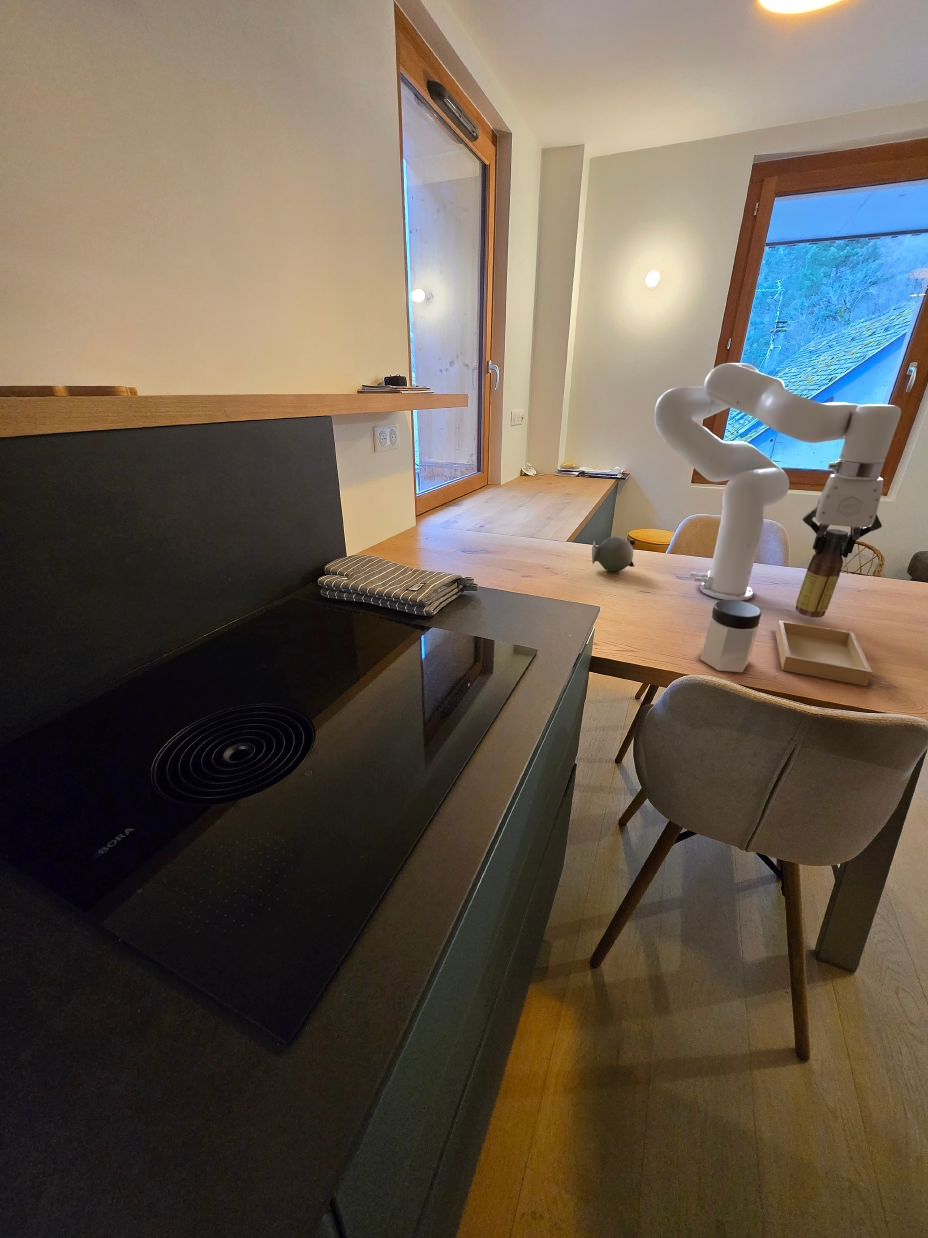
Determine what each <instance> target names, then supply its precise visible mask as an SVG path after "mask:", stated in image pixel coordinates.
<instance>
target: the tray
mask: <svg viewBox="0 0 928 1238" xmlns="http://www.w3.org/2000/svg"><path fill="white" fill-rule="evenodd" d="M775 638H776V643H777V650H778V655H779V656H778V657H779V662H780V667H781V671H785V672H791V673H795V674H800V675H806V676H811V677H817V678H822V679H827V680H831V681H838V682H842V683H847V684H853V685H857V686H862V687H863V686H864V687H868V684H869V682H870V680H871V677H872V675H873V670H872V668H871V666H870V663H869V662H868V660H867V658H866V655H865V654H864V651H863V650H862V647H861V646H860V643H859V641H858V639H857V637H856V635H855V633H854V631H849V630H843V629H838V628H831V627H824V626H817V625H812V624H805V623H799V622H792V621H786V620H780V619H779V620H778V622H777V625H776V629H775Z"/></svg>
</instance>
